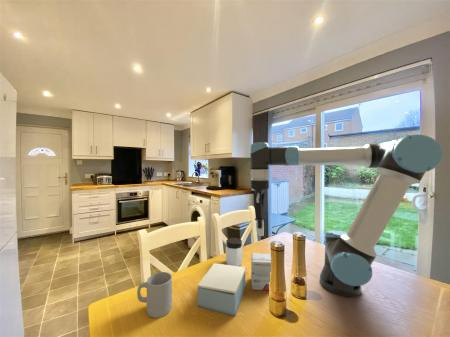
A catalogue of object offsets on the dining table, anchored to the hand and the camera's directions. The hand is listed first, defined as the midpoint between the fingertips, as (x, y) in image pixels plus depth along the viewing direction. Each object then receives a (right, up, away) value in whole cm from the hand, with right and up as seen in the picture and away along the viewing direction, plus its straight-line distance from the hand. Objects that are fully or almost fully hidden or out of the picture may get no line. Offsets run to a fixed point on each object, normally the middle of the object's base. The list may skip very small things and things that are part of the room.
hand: (260, 235), depth 82 cm
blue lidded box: (-16, -22, -6) cm, 28 cm away
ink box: (+1, -22, +2) cm, 22 cm away
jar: (-10, -22, +19) cm, 31 cm away
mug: (-40, -22, -13) cm, 47 cm away
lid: (-16, -14, -7) cm, 22 cm away
